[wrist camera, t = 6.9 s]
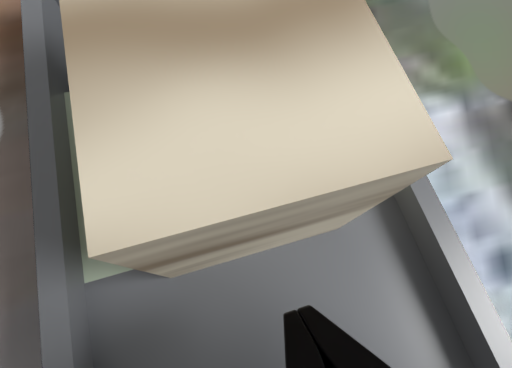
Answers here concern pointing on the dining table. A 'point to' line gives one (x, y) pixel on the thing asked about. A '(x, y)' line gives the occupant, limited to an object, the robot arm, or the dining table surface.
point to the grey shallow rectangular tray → (242, 270)
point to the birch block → (234, 125)
